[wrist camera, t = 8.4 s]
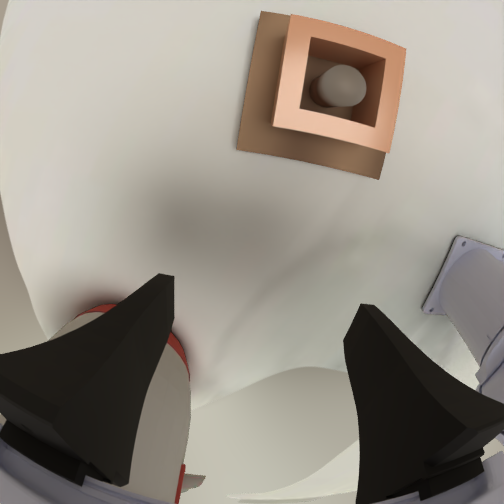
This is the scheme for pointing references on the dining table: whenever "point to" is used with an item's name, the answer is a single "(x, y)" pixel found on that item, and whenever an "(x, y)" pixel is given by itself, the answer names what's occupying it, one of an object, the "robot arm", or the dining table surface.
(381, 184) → the dining table surface
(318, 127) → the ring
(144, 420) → the citrus juicer
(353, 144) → the post stand
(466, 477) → the robot arm
